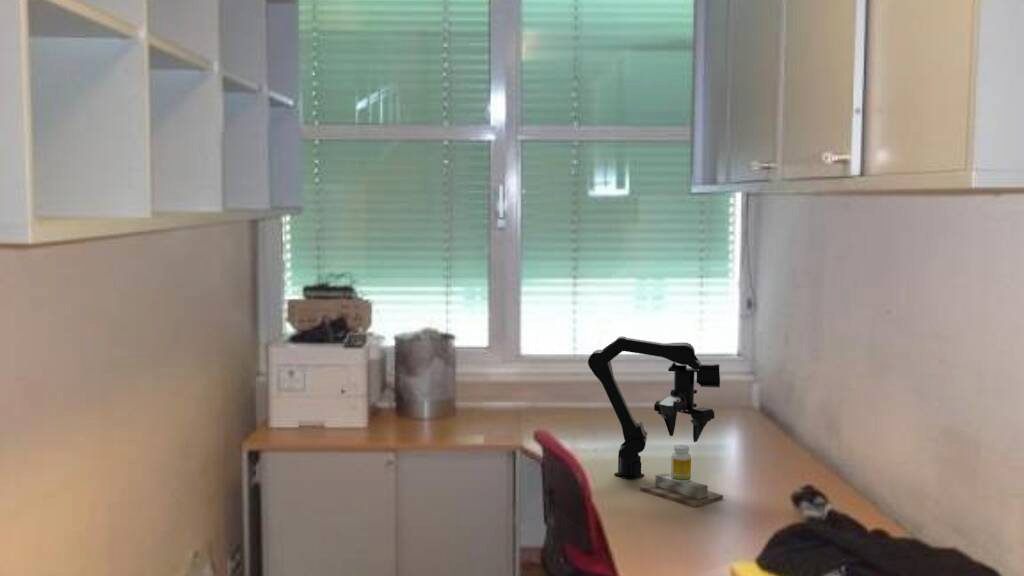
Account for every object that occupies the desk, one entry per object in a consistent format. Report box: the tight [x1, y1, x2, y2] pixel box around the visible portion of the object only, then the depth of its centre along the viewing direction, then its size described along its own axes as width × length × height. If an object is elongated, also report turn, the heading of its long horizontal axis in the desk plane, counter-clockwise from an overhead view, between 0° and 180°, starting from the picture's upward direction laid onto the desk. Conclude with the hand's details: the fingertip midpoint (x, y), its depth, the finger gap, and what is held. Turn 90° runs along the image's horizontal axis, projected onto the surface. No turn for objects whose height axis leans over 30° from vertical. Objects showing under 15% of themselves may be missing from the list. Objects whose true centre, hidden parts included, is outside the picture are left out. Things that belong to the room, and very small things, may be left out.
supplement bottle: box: [670, 444, 692, 483], centre depth 279 cm, size 5×5×10 cm
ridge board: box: [639, 472, 724, 508], centre depth 279 cm, size 20×12×4 cm, turn 39°
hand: (683, 438), depth 293 cm, fingers open, 9 cm apart
